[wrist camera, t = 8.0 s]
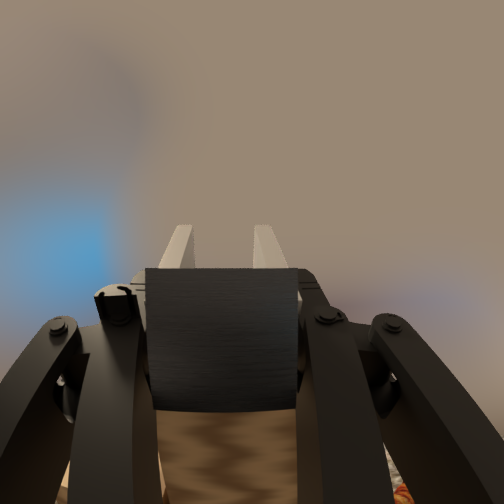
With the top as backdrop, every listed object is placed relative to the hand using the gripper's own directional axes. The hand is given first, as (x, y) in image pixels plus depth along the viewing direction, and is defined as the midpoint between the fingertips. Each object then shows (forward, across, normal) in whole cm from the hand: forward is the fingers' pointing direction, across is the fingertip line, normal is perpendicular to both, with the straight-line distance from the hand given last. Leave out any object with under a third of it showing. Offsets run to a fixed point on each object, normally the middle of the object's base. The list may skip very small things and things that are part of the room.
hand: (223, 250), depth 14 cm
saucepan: (-2, 0, -7) cm, 7 cm away
